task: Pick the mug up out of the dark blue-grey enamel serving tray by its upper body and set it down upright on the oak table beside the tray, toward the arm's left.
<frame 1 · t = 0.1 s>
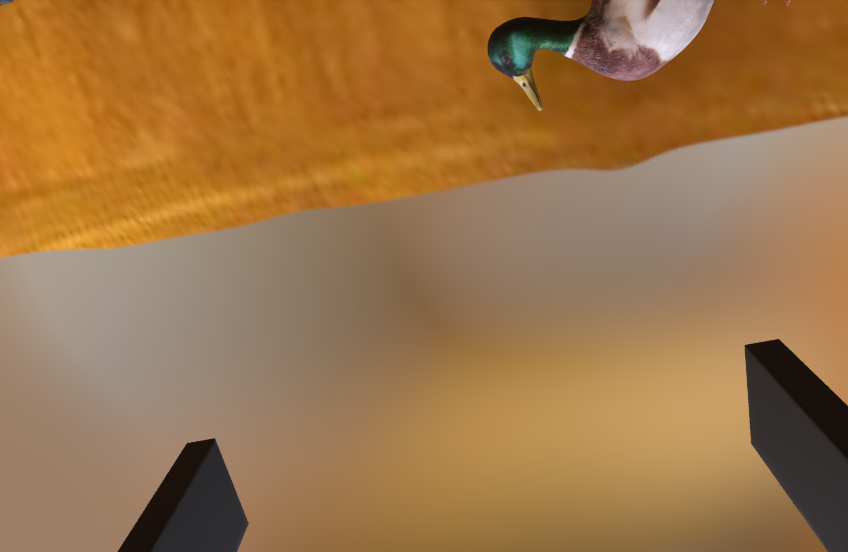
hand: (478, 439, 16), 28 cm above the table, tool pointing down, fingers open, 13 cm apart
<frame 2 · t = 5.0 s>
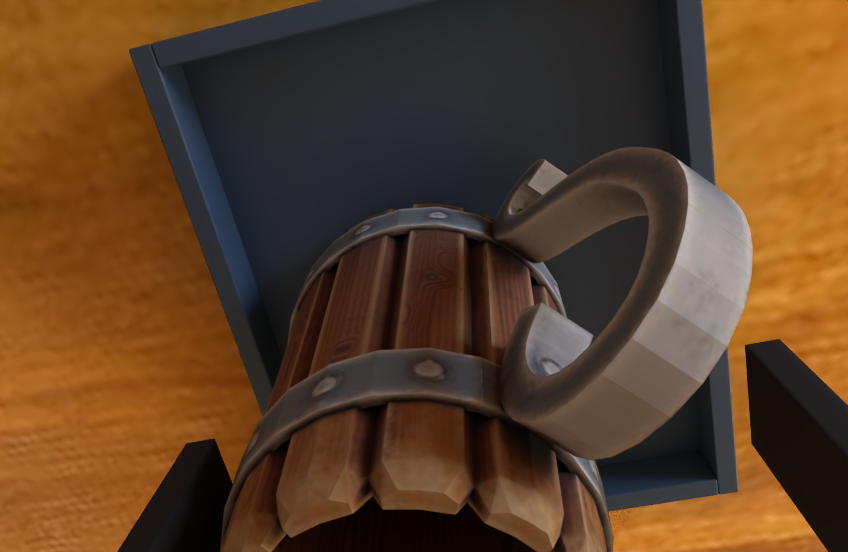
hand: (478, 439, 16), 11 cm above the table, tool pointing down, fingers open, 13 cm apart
tray: (465, 271, 26), on the table
mug: (465, 273, 26), resting on tray
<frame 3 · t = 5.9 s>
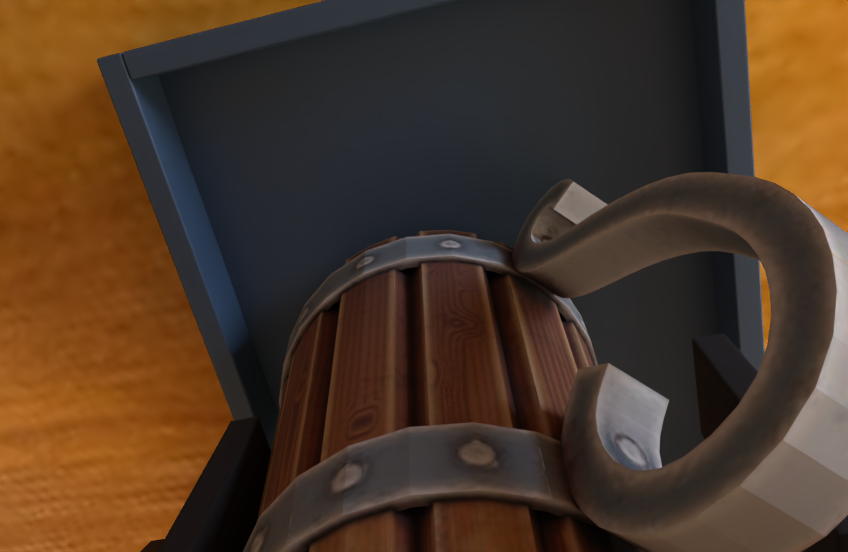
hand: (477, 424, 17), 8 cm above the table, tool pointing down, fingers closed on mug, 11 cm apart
tray: (473, 303, 24), on the table
mug: (476, 305, 24), resting on tray, touching gripper
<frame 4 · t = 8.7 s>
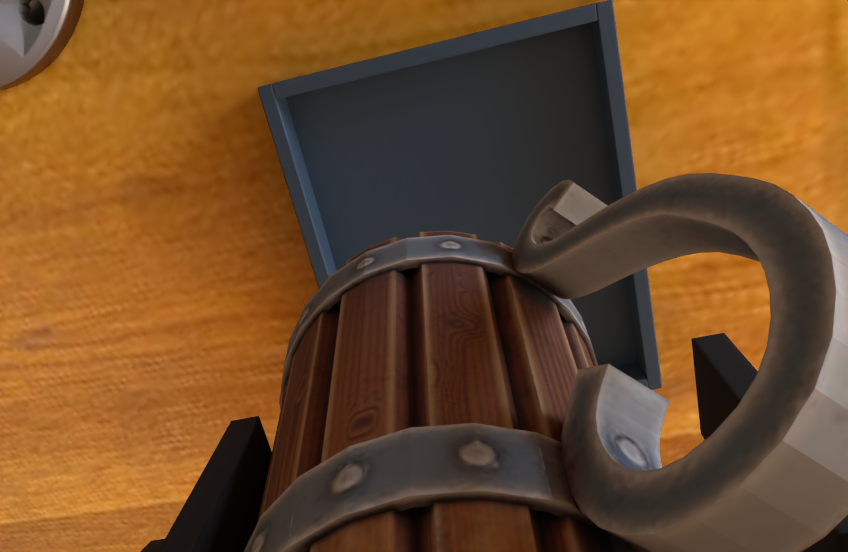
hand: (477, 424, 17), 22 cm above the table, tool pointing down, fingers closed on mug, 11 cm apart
tray: (472, 235, 39), on the table
mug: (476, 306, 24), point 15 cm above the table, touching gripper
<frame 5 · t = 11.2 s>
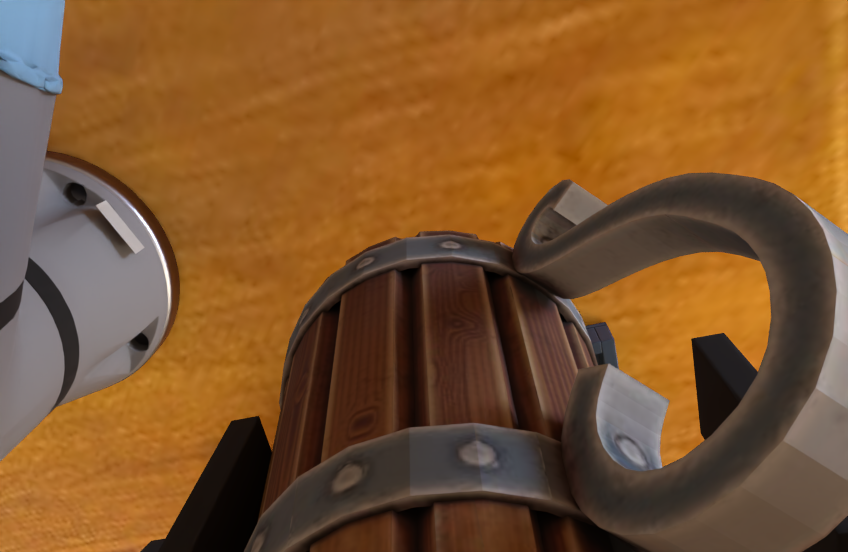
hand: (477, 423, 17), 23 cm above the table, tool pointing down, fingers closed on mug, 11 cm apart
tray: (496, 485, 46), on the table
mug: (477, 306, 24), point 16 cm above the table, touching gripper
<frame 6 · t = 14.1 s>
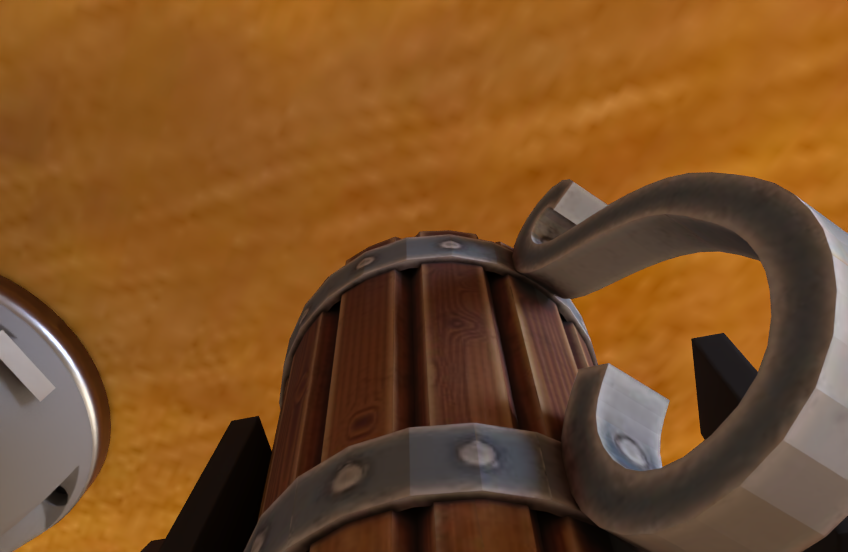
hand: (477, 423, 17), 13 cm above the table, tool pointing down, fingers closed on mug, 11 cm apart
mug: (477, 306, 24), point 6 cm above the table, touching gripper
when the fingers open (7 cm above the table, at t = 16.7 s): mug stays where it is, on the table.
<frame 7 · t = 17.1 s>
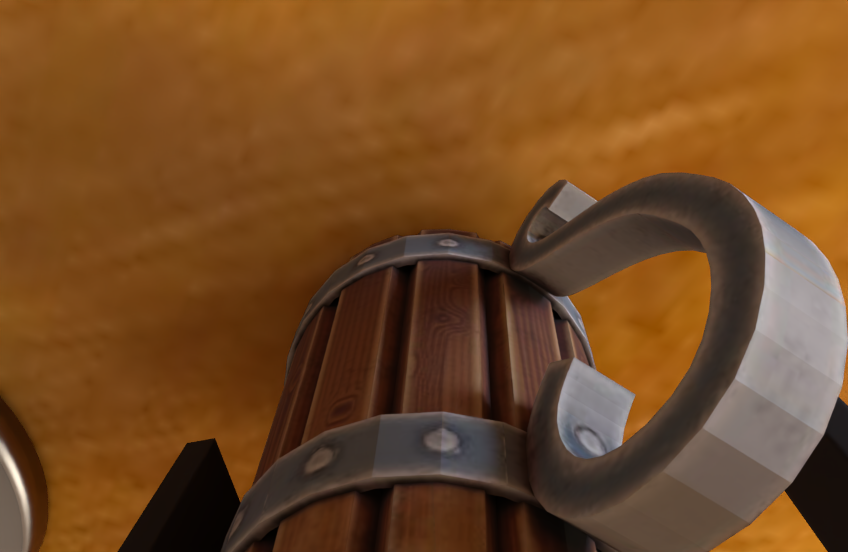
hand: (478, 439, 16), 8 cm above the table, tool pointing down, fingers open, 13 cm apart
mug: (479, 303, 24), on the table
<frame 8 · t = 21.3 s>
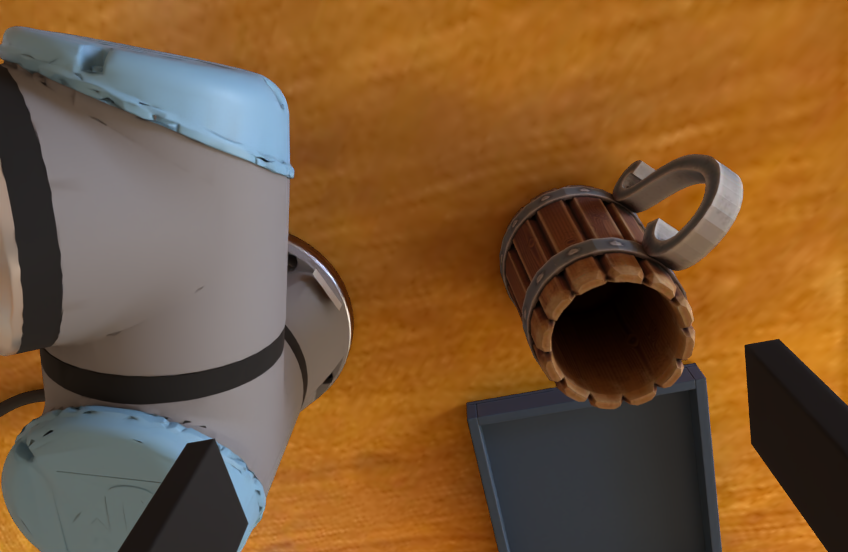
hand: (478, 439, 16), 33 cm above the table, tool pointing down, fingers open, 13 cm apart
tray: (596, 492, 56), on the table
mug: (590, 224, 48), on the table
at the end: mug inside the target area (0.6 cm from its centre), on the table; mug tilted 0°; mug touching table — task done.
